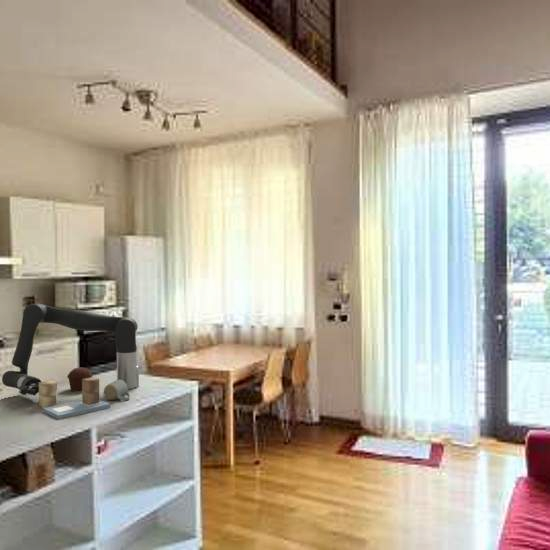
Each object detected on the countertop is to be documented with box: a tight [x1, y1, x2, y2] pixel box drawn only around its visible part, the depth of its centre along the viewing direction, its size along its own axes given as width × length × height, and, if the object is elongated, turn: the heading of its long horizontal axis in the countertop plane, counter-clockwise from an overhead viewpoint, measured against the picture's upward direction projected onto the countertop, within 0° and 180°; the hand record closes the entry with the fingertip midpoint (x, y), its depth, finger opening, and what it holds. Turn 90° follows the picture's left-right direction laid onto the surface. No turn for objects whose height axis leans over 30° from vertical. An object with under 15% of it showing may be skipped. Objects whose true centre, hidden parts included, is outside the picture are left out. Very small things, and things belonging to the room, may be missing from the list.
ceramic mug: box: [103, 379, 131, 401], centre depth 235 cm, size 11×8×8 cm
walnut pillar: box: [81, 376, 100, 405], centre depth 223 cm, size 5×5×10 cm
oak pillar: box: [38, 380, 57, 409], centre depth 224 cm, size 5×5×10 cm
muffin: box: [66, 366, 94, 392], centre depth 252 cm, size 12×11×10 cm
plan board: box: [42, 399, 112, 420], centre depth 219 cm, size 22×14×2 cm, turn 137°
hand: (45, 390), depth 225 cm, fingers open, 8 cm apart
